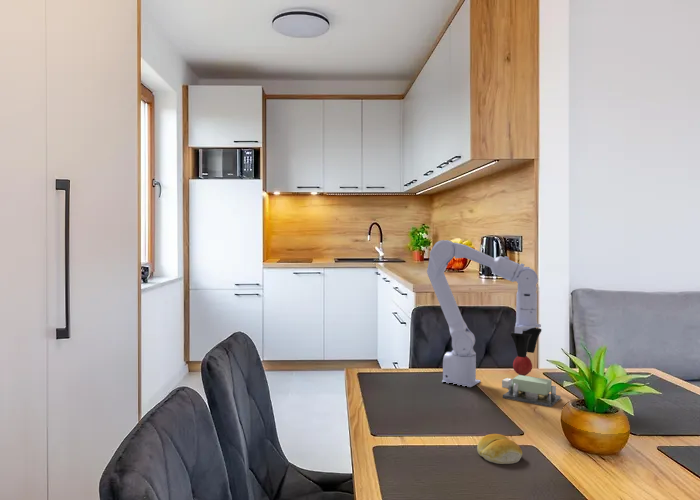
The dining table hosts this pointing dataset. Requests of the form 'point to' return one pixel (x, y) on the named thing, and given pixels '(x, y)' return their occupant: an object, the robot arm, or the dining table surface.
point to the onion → (522, 365)
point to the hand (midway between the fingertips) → (526, 354)
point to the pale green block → (533, 384)
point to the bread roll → (499, 449)
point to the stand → (505, 382)
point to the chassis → (531, 396)
